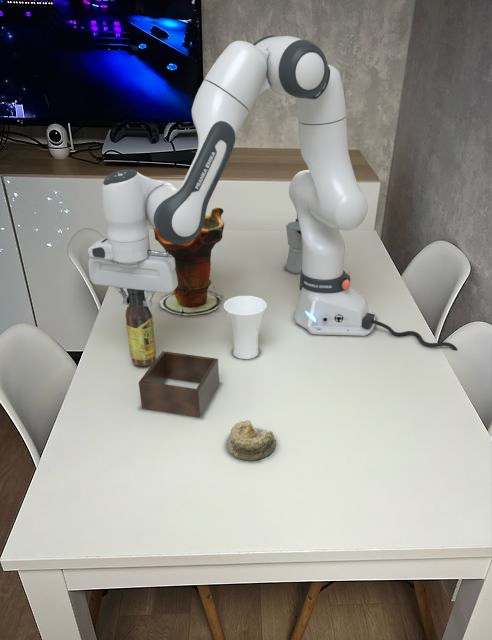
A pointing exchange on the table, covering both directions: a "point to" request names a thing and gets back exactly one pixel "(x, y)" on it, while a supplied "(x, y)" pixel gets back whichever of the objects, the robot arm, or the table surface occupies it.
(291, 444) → the table surface
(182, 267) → the decorative vase
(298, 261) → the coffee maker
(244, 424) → the cake
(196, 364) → the caddy
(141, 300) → the sauce bottle
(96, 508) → the table surface
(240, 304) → the cup
